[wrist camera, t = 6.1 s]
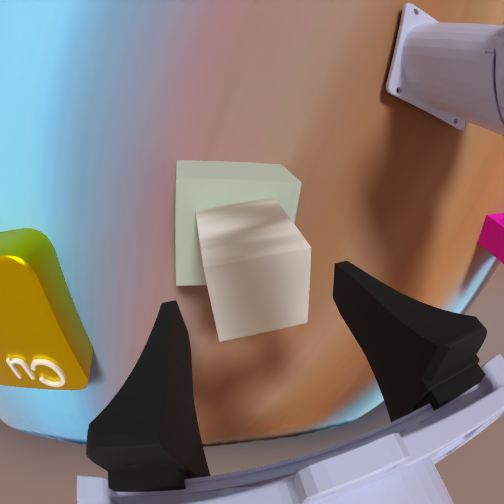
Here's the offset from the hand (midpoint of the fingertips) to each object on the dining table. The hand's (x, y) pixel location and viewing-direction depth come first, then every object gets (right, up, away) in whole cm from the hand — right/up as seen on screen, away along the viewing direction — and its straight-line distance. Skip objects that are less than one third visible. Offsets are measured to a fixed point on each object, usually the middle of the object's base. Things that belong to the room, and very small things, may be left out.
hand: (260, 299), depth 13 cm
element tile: (-23, -3, +8) cm, 24 cm away
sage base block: (-2, +5, +8) cm, 10 cm away
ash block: (-1, +3, +5) cm, 6 cm away
